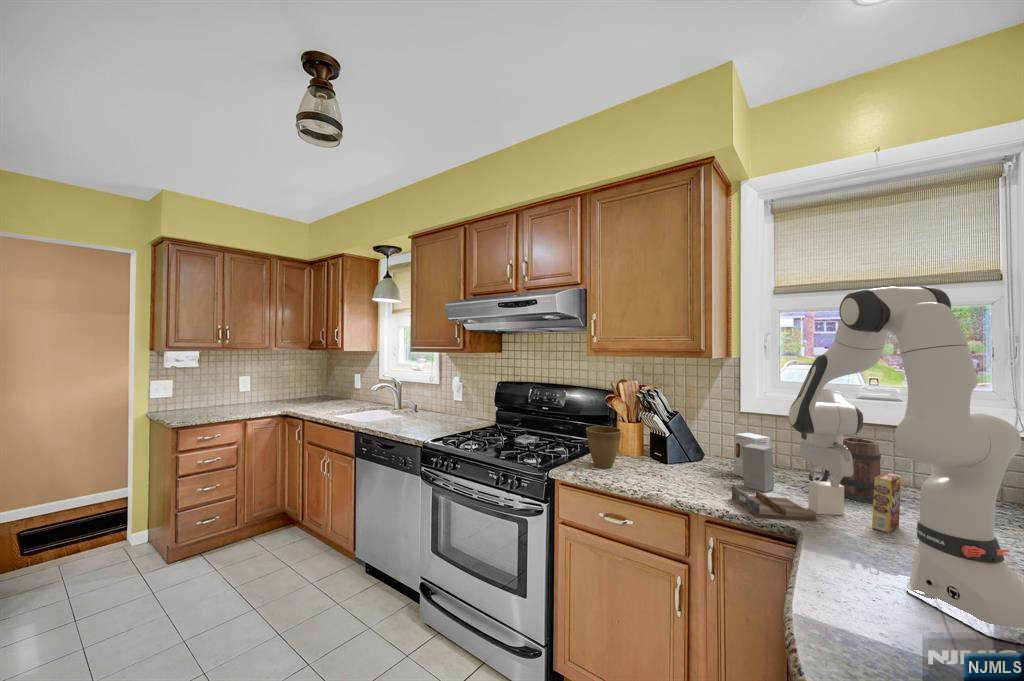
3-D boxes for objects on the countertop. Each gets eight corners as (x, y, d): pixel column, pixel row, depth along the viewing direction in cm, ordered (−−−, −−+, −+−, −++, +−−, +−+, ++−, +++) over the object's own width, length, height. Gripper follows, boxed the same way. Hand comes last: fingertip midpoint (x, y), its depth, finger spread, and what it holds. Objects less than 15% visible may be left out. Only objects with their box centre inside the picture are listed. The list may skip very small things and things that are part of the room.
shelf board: (816, 520, 130) (816, 505, 130) (754, 517, 131) (754, 503, 131) (785, 501, 146) (786, 488, 146) (730, 498, 147) (731, 486, 147)
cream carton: (843, 515, 135) (844, 486, 135) (817, 513, 136) (818, 485, 136) (833, 509, 140) (834, 481, 140) (808, 508, 140) (808, 480, 141)
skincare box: (774, 490, 158) (775, 447, 158) (763, 493, 154) (764, 449, 154) (751, 483, 165) (751, 442, 165) (740, 486, 161) (741, 444, 161)
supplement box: (732, 474, 176) (733, 433, 177) (747, 472, 180) (748, 432, 181) (754, 481, 168) (755, 438, 168) (769, 478, 172) (770, 436, 172)
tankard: (875, 491, 159) (876, 437, 159) (899, 507, 143) (900, 447, 143) (802, 483, 166) (802, 432, 167) (817, 497, 150) (818, 441, 151)
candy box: (890, 533, 122) (891, 480, 122) (871, 528, 126) (872, 476, 126) (900, 527, 127) (901, 475, 127) (882, 521, 130) (883, 471, 131)
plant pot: (600, 459, 194) (600, 424, 194) (627, 467, 183) (628, 430, 183) (578, 465, 185) (578, 428, 185) (605, 473, 173) (606, 434, 173)
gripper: (860, 447, 128) (859, 493, 128) (815, 432, 148) (814, 472, 148) (838, 446, 128) (837, 492, 128) (796, 431, 148) (795, 471, 149)
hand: (824, 481), depth 138 cm, fingers open, 8 cm apart
